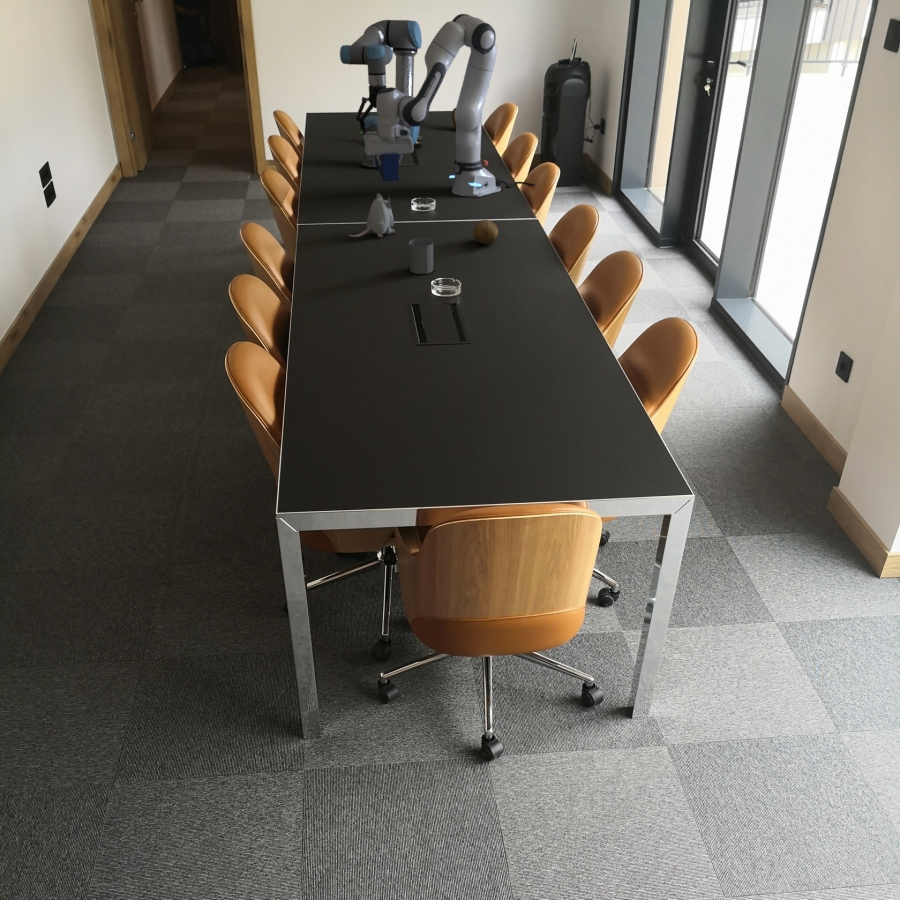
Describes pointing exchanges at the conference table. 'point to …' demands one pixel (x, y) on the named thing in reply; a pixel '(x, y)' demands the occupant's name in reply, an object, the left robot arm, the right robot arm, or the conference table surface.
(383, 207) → the toy
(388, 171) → the box
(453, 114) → the apple
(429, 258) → the cup
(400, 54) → the left robot arm
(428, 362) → the conference table surface
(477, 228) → the potato
